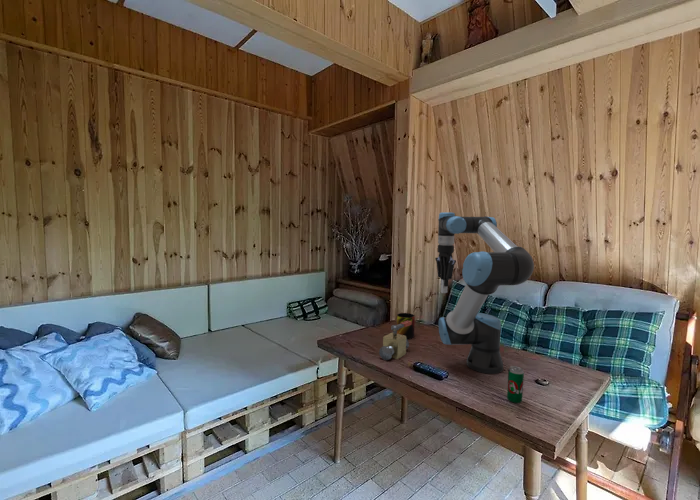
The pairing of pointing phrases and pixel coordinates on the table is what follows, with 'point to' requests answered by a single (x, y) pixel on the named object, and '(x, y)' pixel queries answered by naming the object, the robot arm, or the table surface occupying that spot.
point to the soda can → (515, 384)
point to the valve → (393, 346)
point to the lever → (400, 326)
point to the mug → (409, 329)
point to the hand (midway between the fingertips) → (444, 292)
